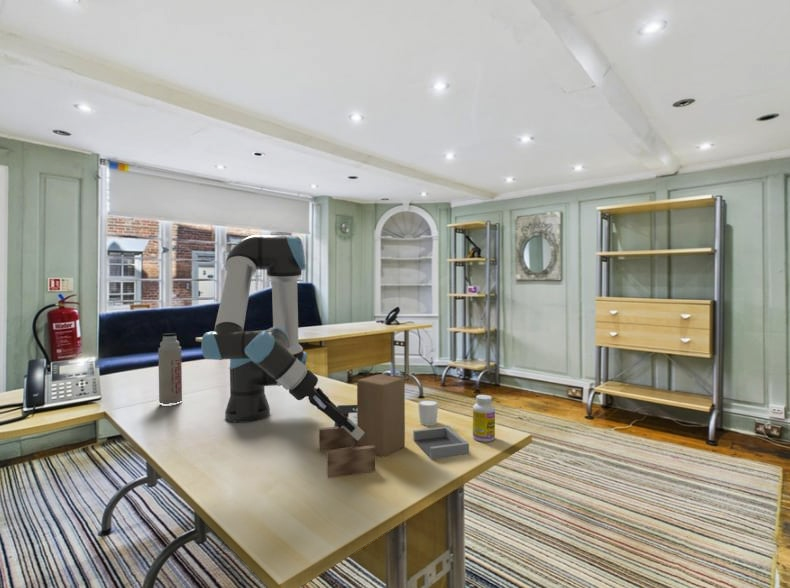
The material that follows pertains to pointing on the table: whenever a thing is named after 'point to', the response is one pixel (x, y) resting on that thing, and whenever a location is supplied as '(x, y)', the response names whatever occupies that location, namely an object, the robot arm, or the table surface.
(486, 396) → the supplement bottle
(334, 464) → the parallel wooden walls
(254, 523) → the table surface
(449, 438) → the grey shallow rectangular tray
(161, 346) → the thermos bottle
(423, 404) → the white cup
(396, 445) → the wooden block
